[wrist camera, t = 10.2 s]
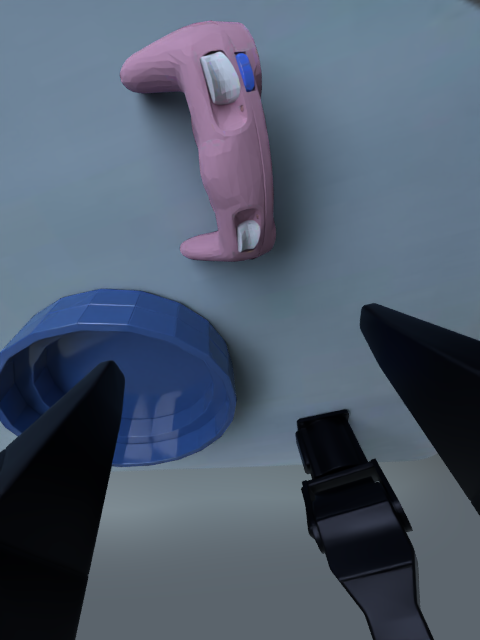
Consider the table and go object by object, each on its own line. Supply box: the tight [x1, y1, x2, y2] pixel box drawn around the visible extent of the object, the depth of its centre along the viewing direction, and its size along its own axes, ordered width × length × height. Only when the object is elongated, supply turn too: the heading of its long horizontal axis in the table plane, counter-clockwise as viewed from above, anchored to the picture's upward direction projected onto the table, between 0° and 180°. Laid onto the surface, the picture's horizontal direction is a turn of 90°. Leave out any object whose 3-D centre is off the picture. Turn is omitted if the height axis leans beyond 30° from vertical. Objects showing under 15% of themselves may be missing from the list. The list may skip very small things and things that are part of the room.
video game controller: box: [120, 21, 276, 262], centre depth 13 cm, size 10×5×7 cm, turn 11°
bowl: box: [0, 289, 237, 467], centre depth 22 cm, size 18×18×4 cm
